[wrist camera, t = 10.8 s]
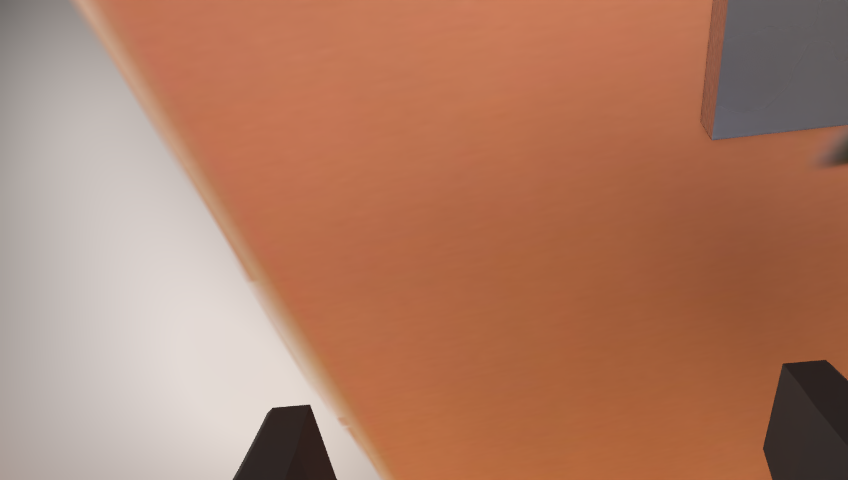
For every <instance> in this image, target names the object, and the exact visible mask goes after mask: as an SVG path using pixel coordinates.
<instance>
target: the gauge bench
mask: <svg viewBox="0 0 848 480" xmlns="http://www.w3.org/2000/svg"><path fill="white" fill-rule="evenodd" d="M701 123H702V125H703V127H704V128H705V130H706V132H707V133H708V135H709V136H710V138H711V140H718V139H727V138H736V137H745V136H754V135H762V134H771V133H780V132H789V131H798V130H806V129H815V128H824V127H833V126H842V125H848V0H713V7H712V17H711V26H710V36H709V45H708V55H707V65H706V74H705V84H704V93H703V103H702V113H701Z"/></svg>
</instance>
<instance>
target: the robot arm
mask: <svg viewBox="0 0 848 480" xmlns="http://www.w3.org/2000/svg"><path fill="white" fill-rule="evenodd" d="M763 450H764V453H765V456H766V460H767V463H768V466H769V469H770V473H771V476H772V479H773V480H848V380H847V379H846V378H845V377H843V376H842V375H841V374H840V373H839V372H838V371H837V370H836V369H835V368H834V367H833V366H832V365H831V364H830V363H829V362H827V361H826V360H821V361H809V362H798V363H786V364H783V366H782V370H781V374H780V378H779V383H778V387H777V391H776V395H775V400H774V404H773V408H772V413H771V417H770V421H769V425H768V430H767V434H766V438H765V442H764V447H763ZM233 480H337V479H336V476H335V474H334V471H333V468H332V465H331V462H330V460H329V457H328V454H327V451H326V448H325V445H324V442H323V440H322V437H321V434H320V431H319V428H318V426H317V423H316V420H315V417H314V414H313V412H312V409H311V406H310V405H300V406H289V407H277V408H272V409H271V410H270V411H269V412H268V413H267V415H266V417H265V419H264V421H263V423H262V425H261V427H260V429H259V431H258V433H257V435H256V437H255V439H254V441H253V443H252V445H251V447H250V449H249V451H248V452H247V454H246V456H245V458H244V460H243V462H242V464H241V466H240V468H239V469H238V471H237V473H236V475H235V477H234V478H233Z"/></svg>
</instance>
